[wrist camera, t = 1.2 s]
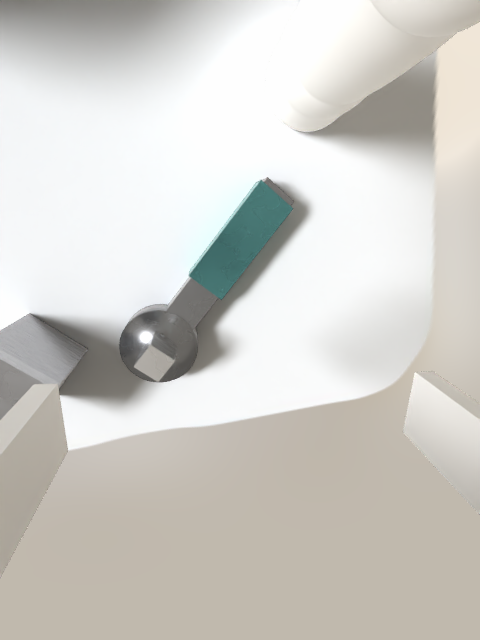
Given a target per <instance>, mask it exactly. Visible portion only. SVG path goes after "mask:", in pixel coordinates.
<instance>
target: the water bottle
mask: <svg viewBox="0 0 480 640" xmlns="http://www.w3.org/2000/svg"><path fill="white" fill-rule="evenodd" d="M478 22H480V0H301V1H300V4H299V7H298V8H297V9H296V11H295V12H294V14H293V16H292V17H291V19H290V21H289V23H288V25H287V27H286V29H285V31H284V34H283V37H282V40H281V41H280V43H279V44H278V46H277V48H276V50H275V51H274V53H273V56H272V58H271V60H270V63H269V66H268V70H267V77H266V90H267V96H268V100H269V103H270V106H271V108H272V110H273V112H274V113H275V115H276V116H277V117H278V118H279V120H280V121H281V122H283V123H284V124H285V125H286V126H288V127H290V128H292V129H294V130H297V131H302V132H312V131H317V130H320V129H322V128H324V127H326V126H328V125H329V124H331V123H332V122H334V121H335V120H336V119H338V118H339V117H340V116H341V115H342V114H344V113H346V112H348V111H349V110H351V109H352V108H354V107H355V106H356V105H358V104H359V103H360V102H361V101H362V100H364V99H365V98H366V97H367V96H368V95H370V94H372V93H373V92H375V91H377V90H379V89H380V88H382V87H384V86H385V85H387V84H388V83H390V82H392V81H393V80H395V79H396V78H398V77H399V76H401V75H402V74H404V73H405V72H407V71H408V70H409V69H411V68H412V67H414V66H415V65H417V64H418V63H419V62H421V61H422V60H423V59H425V58H426V57H427V56H429V55H430V54H431V53H433V52H434V51H435V50H437V49H438V48H439V47H440V46H441V45H443V44H444V43H445V42H447V41H448V40H449V39H450V38H451V37H453V36H454V35H455V34H456V33H457V32H459V31H462V30H465V29H467V28H469V27H471V26H473V25H475V24H477V23H478Z"/></svg>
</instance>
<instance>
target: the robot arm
mask: <svg viewBox="0 0 480 640" xmlns="http://www.w3.org/2000/svg"><path fill="white" fill-rule="evenodd" d="M403 433H404V434H405V435H406V436H407V437H408V438H409V440H410V441H411V442H412V443H413V444H414V445H415V446H416V447H417V448H418V449H419V450H420V451H421V453H422V454H423V455H424V456H426V458H427V459H428V460H429V461H430V462H431V463H432V464H433V465H434V467H435V468H436V469H437V470H438V471H439V472H440V473H441V474H442V475H443V476H444V477H445V478H446V479H447V480H448V482H449V483H450V484H451V485H452V486H453V487H454V488H455V489H456V490H457V491H458V492H459V493H460V494H461V496H462V497H463V498H464V499H465V500H466V501H467V502H468V503H469V504H470V505H471V506H472V507H473V508H474V509H475V511H476V512H477V513H478V514H479V515H480V403H479V402H477V401H476V400H474V399H473V398H471V397H470V396H469V395H467V394H466V393H464V392H463V391H461V390H460V389H458V388H457V387H455V386H454V385H452V384H451V383H449V382H448V381H447V380H445V379H444V378H442V377H441V376H439V375H438V374H436V373H435V372H433V371H428V372H415V374H414V379H413V384H412V389H411V394H410V399H409V404H408V408H407V413H406V418H405V423H404V428H403ZM67 452H68V448H67V441H66V434H65V428H64V421H63V415H62V408H61V402H60V395H59V388H58V384H34V385H33V386H32V387H31V388H30V389H29V390H28V391H27V392H26V393H25V394H24V395H23V396H22V397H21V399H20V400H19V401H18V402H17V403H16V404H15V405H14V406H13V407H12V408H11V409H10V410H9V411H8V412H7V414H6V415H5V416H4V417H3V418H2V419H1V420H0V578H1V576H2V574H3V572H4V570H5V568H6V566H7V565H8V563H9V561H10V559H11V557H12V555H13V553H14V551H15V550H16V548H17V546H18V544H19V542H20V540H21V538H22V536H23V534H24V533H25V531H26V529H27V527H28V525H29V523H30V521H31V520H32V517H33V516H34V514H35V512H36V510H37V508H38V506H39V504H40V502H41V501H42V499H43V497H44V495H45V493H46V491H47V490H48V487H49V485H50V484H51V482H52V480H53V478H54V476H55V474H56V473H57V471H58V469H59V467H60V465H61V463H62V461H63V459H64V457H65V456H66V454H67Z"/></svg>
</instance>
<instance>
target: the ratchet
mask: <svg viewBox="0 0 480 640" xmlns="http://www.w3.org/2000/svg"><path fill="white" fill-rule="evenodd" d="M293 202H294V201H293V200H292V199H291V198H290V197H289V196H288V195H287V194H285V193H284V192H283V191H282V190H281V189H280V188H279V187H278V186H277V185H276V184H274V183H273V182H272V181H271V180H270V179H269V178H268V177H267V178H265V179H263V180H260V181H258V182H256V183H255V185H254V186H253V187H252V189H251V190H250V191H249V193H248V194H247V195H246V197H245V198H244V199H243V201H242V202H241V203H240V205H239V206H238V207H237V209H236V210H235V211H234V213H233V214H232V215H231V217H230V218H229V219H228V221H227V222H226V223H225V225H224V226H223V227H222V228H221V230H220V231H219V232H218V234H217V235H216V236H215V238H214V239H213V240H212V242H211V243H210V244H209V246H208V247H207V248H206V250H205V251H204V252H203V254H202V255H201V256H200V258H199V259H198V260H197V262H196V263H195V264H194V266H193V267H192V268H191V270H190V271H189V278H188V279H187V280H186V282H185V283H184V284H183V286H182V287H181V288H180V290H179V291H178V292H177V293H176V295H175V296H174V297H173V299H172V300H171V301H170V303H169V304H168V305H166V304H155V305H150V306H147V307H145V308H143V309H141V310H139V311H138V312H137V313H136V314H134V316H133V317H132V318H131V319H130V321H129V322H128V324H127V326H126V327H125V329H124V330H123V332H122V335H121V338H120V344H119V345H120V354H121V357H122V360H123V362H124V363H125V365H126V366H127V368H128V369H129V370H130V371H131V372H132V373H133V374H135V375H136V376H138V377H140V378H142V379H144V380H147V381H151V382H167V381H171V380H174V379H177V378H179V377H181V376H182V375H184V374H185V373H186V372H187V371H188V370H189V369H190V368H191V366H192V365H193V363H194V361H195V359H196V356H197V348H198V337H197V330H196V326H197V325H198V323H199V322H200V321H201V320H202V318H203V317H204V316H205V315H206V313H207V312H208V311H209V309H210V308H211V307H212V306H213V304H214V303H215V302H216V301H217V299H218V298H219V299H221V300H222V299H223V297H224V296H225V295H226V293H227V292H228V291H229V290H230V288H231V287H232V286H233V285H234V283H235V282H236V281H237V279H238V278H239V277H240V276H241V274H242V273H243V272H244V271H245V269H246V268H247V267H248V266H249V264H250V263H251V262H252V260H253V259H254V258H255V257H256V255H257V254H258V253H259V252H260V250H261V249H262V248H263V246H264V245H265V244H266V243H267V241H268V240H269V239H270V238H271V236H272V235H273V234H274V232H275V231H276V230H277V229H278V227H279V226H280V225H281V224H282V222H283V221H284V220H285V219H286V217H287V216H288V215H289V213H290V212H291V211H292V210H293V208H292V207H291V205H292V204H293Z"/></svg>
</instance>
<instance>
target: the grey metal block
mask: <svg viewBox="0 0 480 640" xmlns="http://www.w3.org/2000/svg"><path fill="white" fill-rule="evenodd" d="M87 350H88V349H87V348H86V347H84V346H82V345H81V344H79V343H77V342H76V341H74V340H72V339H71V338H69V337H67V336H66V335H64V334H63V333H61V332H59V331H58V330H56V329H54V328H53V327H51V326H49V325H48V324H46V323H44V322H43V321H41V320H40V319H38V318H36V317H35V316H33V315H31V314H30V313H29V314H28V315H26V316H24V317H23V318H21V319H19V320H18V321H16V322H14V323H13V324H11V325H9V326H8V327H6V328H4V329H2V330H1V331H0V420H1V419H2V418H3V417H4V416H5V415H6V414H7V412H8V411H9V410H10V409H11V408H12V407H13V406H14V405H15V404H16V403H17V402H18V401H19V400H20V399H21V397H22V396H23V395H24V394H25V393H26V392H27V391H28V390H29V389H30V388H31V387H32V386H33V385H34V384H58V388H60V387H61V386H62V384H63V383H64V382H65V380H66V379H67V377H68V376H69V375H70V373H71V372H72V371H73V369H74V368H75V367H76V365H77V364H78V362H79V361H80V360H81V358H82V357H83V356H84V354H85V353H86V351H87Z"/></svg>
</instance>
